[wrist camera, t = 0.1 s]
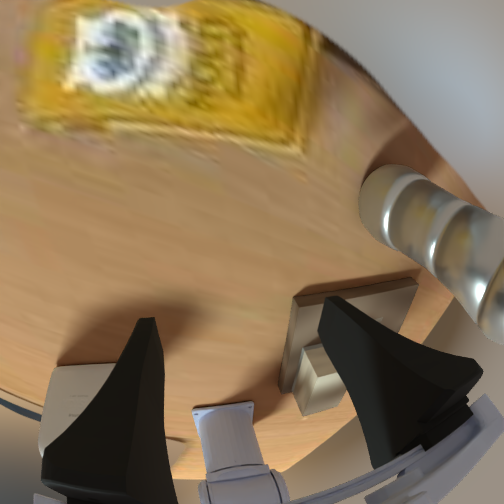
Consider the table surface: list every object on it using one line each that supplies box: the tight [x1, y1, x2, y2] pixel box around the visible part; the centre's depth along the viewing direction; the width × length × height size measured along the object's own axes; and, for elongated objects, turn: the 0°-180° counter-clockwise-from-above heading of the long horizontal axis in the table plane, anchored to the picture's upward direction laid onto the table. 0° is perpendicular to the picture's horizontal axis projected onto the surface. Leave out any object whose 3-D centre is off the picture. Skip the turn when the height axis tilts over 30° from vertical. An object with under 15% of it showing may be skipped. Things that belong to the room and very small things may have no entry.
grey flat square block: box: [278, 277, 419, 394], centre depth 29 cm, size 14×15×2 cm
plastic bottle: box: [359, 164, 504, 345], centre depth 13 cm, size 6×7×20 cm
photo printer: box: [38, 363, 116, 457], centre depth 19 cm, size 10×4×12 cm, turn 93°
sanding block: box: [292, 343, 347, 416], centre depth 27 cm, size 8×4×4 cm, turn 178°
